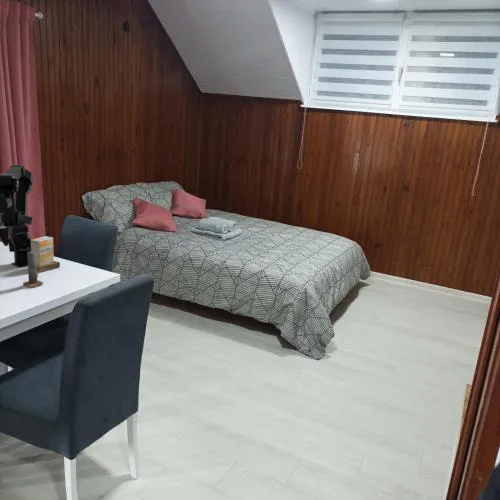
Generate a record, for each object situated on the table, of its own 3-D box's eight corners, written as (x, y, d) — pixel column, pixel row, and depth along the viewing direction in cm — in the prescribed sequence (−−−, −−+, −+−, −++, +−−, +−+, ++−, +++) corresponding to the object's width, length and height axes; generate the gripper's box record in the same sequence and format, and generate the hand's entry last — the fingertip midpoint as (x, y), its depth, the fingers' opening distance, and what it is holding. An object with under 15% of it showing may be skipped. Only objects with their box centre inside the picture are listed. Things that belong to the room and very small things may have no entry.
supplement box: (40, 271, 197) (39, 241, 194) (31, 269, 199) (30, 239, 195) (54, 266, 205) (53, 237, 201) (45, 264, 206) (44, 235, 203)
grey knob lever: (6, 277, 187) (4, 246, 183) (55, 265, 205) (54, 236, 202) (31, 287, 179) (29, 255, 176) (79, 273, 198) (78, 244, 194)
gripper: (40, 208, 179) (44, 248, 183) (17, 203, 191) (21, 240, 194) (10, 212, 171) (15, 253, 175) (-12, 206, 182) (-8, 245, 186)
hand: (11, 247), depth 183 cm, fingers open, 9 cm apart
